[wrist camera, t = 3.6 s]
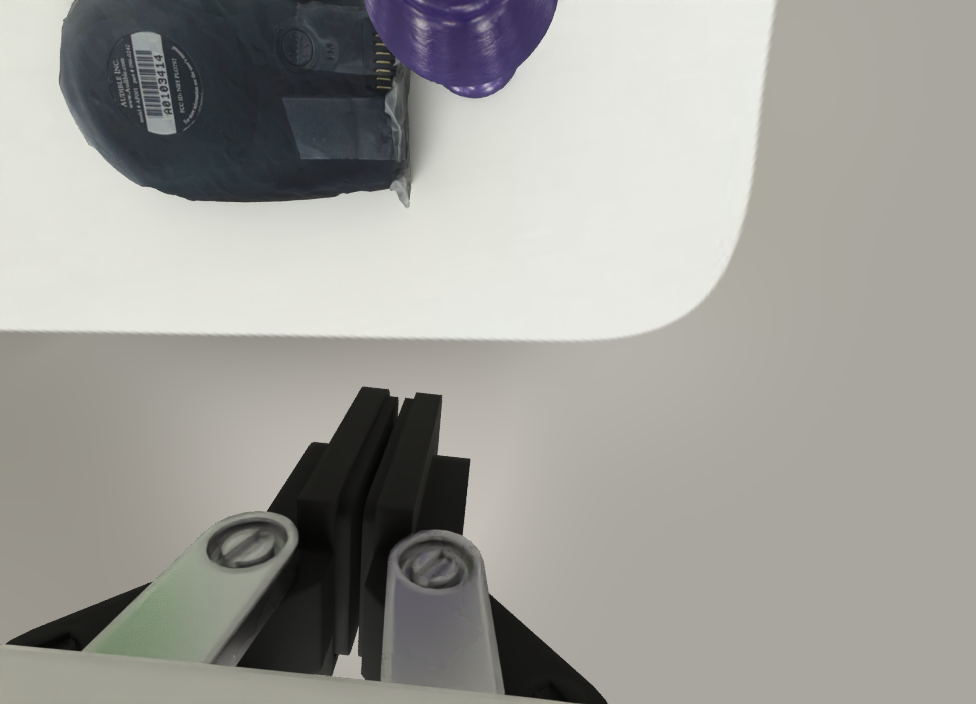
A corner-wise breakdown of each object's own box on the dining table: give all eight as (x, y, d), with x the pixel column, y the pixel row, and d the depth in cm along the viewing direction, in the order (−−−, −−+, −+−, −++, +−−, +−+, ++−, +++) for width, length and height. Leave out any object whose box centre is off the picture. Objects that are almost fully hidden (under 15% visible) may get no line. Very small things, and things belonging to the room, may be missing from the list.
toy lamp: (545, 10, 24) (622, -217, 9) (516, 122, 26) (538, 100, 10) (438, -21, 24) (319, -316, 8) (416, 94, 26) (283, 28, 10)
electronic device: (407, -21, 25) (50, -36, 23) (405, -37, 20) (-45, -57, 19) (415, 188, 30) (116, 188, 28) (415, 216, 25) (54, 218, 23)
